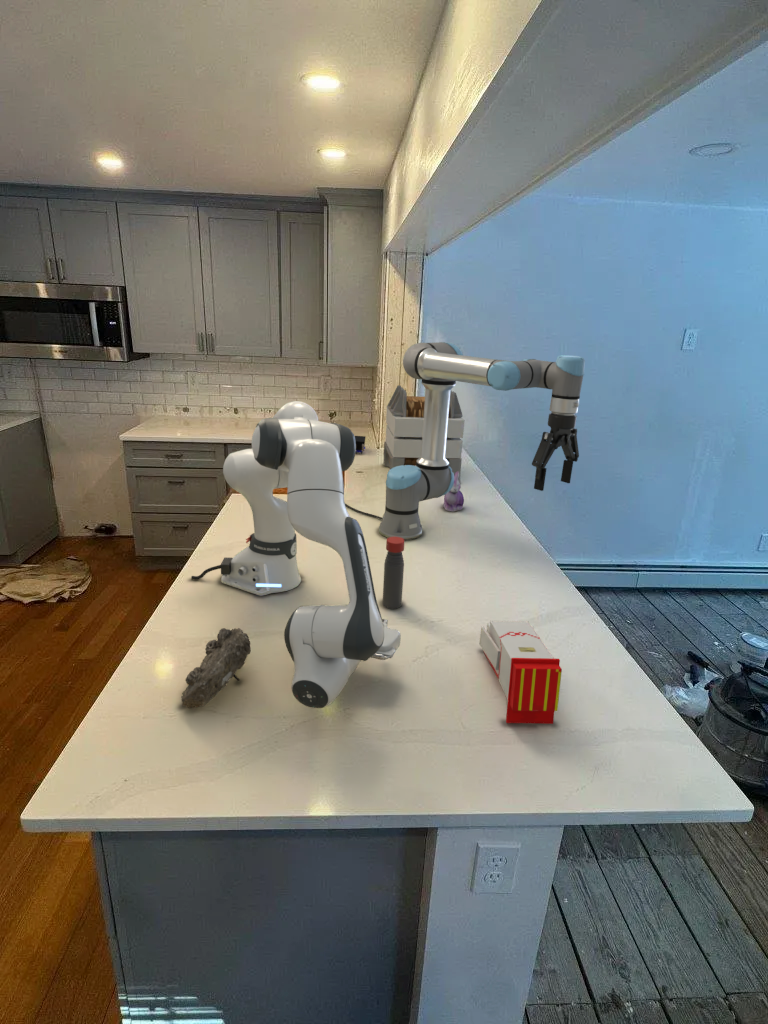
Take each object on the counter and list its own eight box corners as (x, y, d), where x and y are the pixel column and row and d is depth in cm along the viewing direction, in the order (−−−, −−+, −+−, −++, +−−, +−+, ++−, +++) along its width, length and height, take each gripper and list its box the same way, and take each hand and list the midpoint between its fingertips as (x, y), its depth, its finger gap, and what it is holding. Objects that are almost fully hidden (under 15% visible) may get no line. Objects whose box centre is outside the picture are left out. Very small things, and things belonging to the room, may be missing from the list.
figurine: (450, 513, 222) (453, 476, 217) (436, 505, 230) (439, 469, 225) (470, 510, 226) (473, 474, 221) (455, 502, 234) (458, 467, 229)
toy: (526, 605, 135) (570, 665, 105) (521, 658, 137) (563, 730, 108) (475, 604, 134) (506, 664, 105) (472, 657, 137) (500, 729, 108)
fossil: (203, 630, 128) (250, 600, 123) (232, 659, 131) (279, 630, 126) (159, 702, 109) (213, 669, 104) (194, 733, 111) (249, 703, 106)
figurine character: (365, 457, 304) (365, 447, 318) (365, 443, 301) (365, 434, 315) (352, 456, 304) (353, 447, 318) (352, 443, 301) (353, 434, 314)
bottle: (405, 604, 152) (409, 542, 146) (391, 610, 149) (395, 546, 143) (392, 597, 156) (395, 536, 150) (378, 603, 152) (381, 540, 146)
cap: (407, 549, 147) (408, 540, 146) (394, 554, 144) (395, 545, 143) (395, 544, 150) (395, 535, 149) (382, 548, 147) (382, 539, 146)
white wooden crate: (382, 463, 289) (386, 382, 275) (445, 464, 293) (451, 384, 279) (390, 482, 257) (394, 392, 243) (460, 483, 261) (468, 394, 247)
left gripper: (391, 646, 112) (409, 614, 124) (297, 627, 118) (323, 597, 130) (389, 673, 114) (408, 639, 127) (297, 653, 120) (323, 622, 132)
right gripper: (548, 419, 148) (537, 496, 155) (598, 411, 163) (586, 482, 171) (525, 414, 153) (515, 489, 160) (575, 407, 169) (564, 476, 176)
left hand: (364, 618), depth 128 cm, fingers open, 8 cm apart
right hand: (552, 485), depth 166 cm, fingers open, 13 cm apart
